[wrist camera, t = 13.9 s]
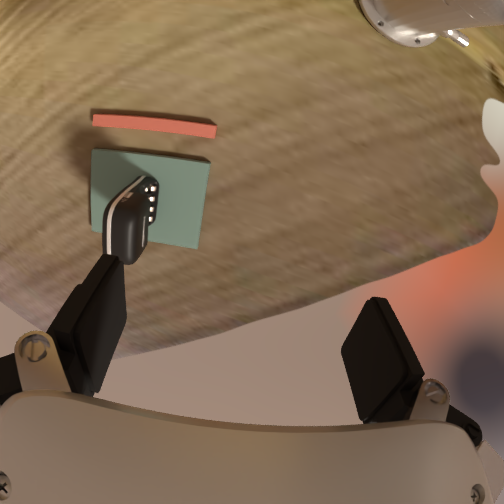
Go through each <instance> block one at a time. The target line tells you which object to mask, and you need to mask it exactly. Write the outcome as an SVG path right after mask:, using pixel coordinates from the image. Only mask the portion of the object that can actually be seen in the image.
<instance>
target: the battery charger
mask: <svg viewBox="0 0 504 504" xmlns="http://www.w3.org/2000/svg"><path fill="white" fill-rule="evenodd" d="M158 197H159V183H158V181H157V180H155V179H153V178H151V177H146V176H138V177H137V178H136V179H135V180H134V181H133V182H131V183H130V184H129V185H128V186H126V187H125V188H124V189H122V190H121V191H120V192H119V193H118V194H117V195H116V196H115V197H114V198H113V199H112V200H111V201H110V202H109V203H108V204H107V206H106V208H105V210H104V213H103V221H102V246H103V254H110V255H115V256H118V257H119V260H120V261H123V264H125V265H130V264H133V263H135V262H136V261H137V259H138V258H139V257H140V255H141V254H142V252H143V250H144V249H145V247H146V245H147V242H148V226H150V225H151V224H153V223H154V222H155V220H156V214H157V205H158Z"/></svg>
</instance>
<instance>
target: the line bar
mask: <svg viewBox="0 0 504 504" xmlns="http://www.w3.org/2000/svg"><path fill="white" fill-rule="evenodd" d="M93 126H104V127H119V128H132V129H143V130H153V131H162V132H171V133H179V134H187V135H194V136H201V137H207V138H215V135H216V130H217V125H212V124H205V123H198V122H191V121H183V120H175V119H166V118H156V117H145V116H133V115H117V114H94V115H93Z"/></svg>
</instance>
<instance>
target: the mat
mask: <svg viewBox="0 0 504 504" xmlns="http://www.w3.org/2000/svg"><path fill="white" fill-rule="evenodd" d="M210 164H211V162H206V161H200V160H193V159H187V158H180V157H172V156H165V155H157V154H149V153H140V152H131V151H121V150H110V149H99V148H94V149H92V153H91V222H92V231H95V232H100V233H102V221H103V213H104V210H105V208H106V206H107V204H108V203H109V202H110V201H111V200H112V199H113V198H114V197H115V196H116V195H117V194H118V193H119V192H120V191H121V190H122V189H124V188H125V187H126V186H128V185H129V184H130V183H131V182H133V181H134V180H135V179H136V178H137V177H138V176H146V177H151V178H153V179H155V180H157V181H158V183H159V197H158V205H157V214H156V220H155V222H154V223H153V224H151V225H150V226H148V241H152V242H158V243H164V244H170V245H176V246H182V247H187V248H193V249H197V248H198V243H199V236H200V229H201V221H202V215H203V208H204V201H205V195H206V188H207V182H208V176H209V170H210Z"/></svg>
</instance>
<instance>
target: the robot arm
mask: <svg viewBox="0 0 504 504" xmlns="http://www.w3.org/2000/svg"><path fill="white" fill-rule="evenodd" d="M359 4H360V7H361V9H362V11H363V13H364V15H365V17H366V18H367V20H368V21H369V22H370V23H371V25H372V26H373V27H374V28H375V29H376V30H377V31H378V32H379V33H380V34H382V35H383V36H384V37H386V38H387V39H389V40H391V41H393V42H394V43H397V44H400V45H402V46H407V47H422V46H426V45H429V44H431V43H432V42H434V41H435V40H436V39H437V38H438V37H439V35H441V36H443V37H445V38H447V37H449V38H451V39H452V40H453V41H454V42H456V43H457V44H459V45H460V46H462V47H466V46H467V45H468V43H469V38H468V37H467V36H466V35H464V34H463V33H461V32H460V31H458V30H456V29H463V28H472V27H482V26H494V25H504V0H359ZM378 24H379V25H380V26H379V25H378ZM126 319H127V312H126V300H125V284H124V264H123V261H120V260H119V257H118V256H115V255H110V254H103V255H102V256H101V257H100V259H99V260H98V261H97V263H96V264H95V266H94V267H93V268H92V270H91V271H90V273H89V274H88V276H87V277H86V279H85V280H84V281H83V283H82V284H78V285H77V286H76V287H75V288H74V290H73V291H72V293H71V294H70V296H69V297H68V299H67V300H66V302H65V303H64V305H63V306H62V308H61V309H60V311H59V312H58V314H57V316H56V317H55V319H54V320H53V322H52V324H51V325H50V327H49V328H48V330H47V332H46V333H45V332H43V331H30V332H28V333H25V334H24V335H23V336H21V337H20V338H19V339H18V341H17V342H16V345H15V349H14V353H12V354H10V355H7V356H4V357H1V358H0V504H494V503H495V501H496V500H497V498H498V496H499V494H500V493H501V490H502V489H503V487H504V460H503V459H502V458H501V457H500V456H499V455H498V453H497V452H496V451H495V450H494V449H493V448H492V447H491V446H490V445H489V443H487V441H486V440H483V441H482V431H481V429H480V426H479V425H478V424H477V423H476V422H475V421H474V420H472V419H471V418H469V417H468V416H466V415H465V414H463V413H462V412H460V411H459V410H457V409H455V408H454V407H453V406H451V405H450V394H449V391H448V389H447V388H446V387H445V385H444V384H442V383H441V382H440V381H438V380H436V379H431V378H430V379H426V380H425V381H423V379H422V377H423V376H424V374H425V373H424V371H423V369H422V367H421V365H420V362H419V361H418V358H417V356H416V354H415V352H414V350H413V348H412V346H411V344H410V342H409V340H408V338H407V336H406V335H405V332H404V330H403V329H402V326H401V325H400V323H399V321H398V319H397V317H396V315H395V313H394V311H393V310H392V308H391V306H390V304H389V302H388V300H387V299H386V298H380V297H372V298H370V300H367V301H366V303H365V304H364V307H363V308H362V310H361V313H360V314H359V316H358V318H357V320H356V322H355V324H354V325H353V327H352V329H351V331H350V333H349V334H348V336H347V338H346V340H345V341H344V343H343V346H342V348H341V355H342V358H343V361H344V365H345V368H346V372H347V375H348V379H349V382H350V386H351V390H352V393H353V397H354V401H355V404H356V408H357V412H358V416H359V419H360V420H361V421H363V424H358V425H341V426H274V425H273V426H272V425H255V424H242V423H231V422H221V421H212V420H205V419H197V418H191V417H184V416H178V415H172V414H166V413H161V412H156V411H151V410H146V409H141V408H137V407H131V406H127V405H123V404H119V403H115V402H111V401H107V400H103V399H99V398H94V397H93V395H94V393H95V392H96V393H98V392H99V391H100V389H101V386H102V383H103V380H104V378H105V375H106V372H107V369H108V367H109V364H110V361H111V359H112V356H113V354H114V351H115V349H116V346H117V344H118V341H119V339H120V336H121V334H122V331H123V329H124V326H125V324H126Z"/></svg>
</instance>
